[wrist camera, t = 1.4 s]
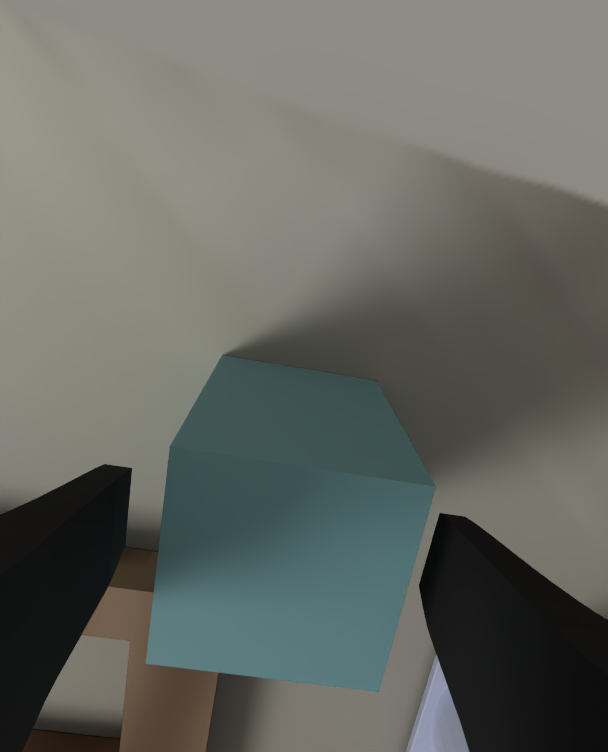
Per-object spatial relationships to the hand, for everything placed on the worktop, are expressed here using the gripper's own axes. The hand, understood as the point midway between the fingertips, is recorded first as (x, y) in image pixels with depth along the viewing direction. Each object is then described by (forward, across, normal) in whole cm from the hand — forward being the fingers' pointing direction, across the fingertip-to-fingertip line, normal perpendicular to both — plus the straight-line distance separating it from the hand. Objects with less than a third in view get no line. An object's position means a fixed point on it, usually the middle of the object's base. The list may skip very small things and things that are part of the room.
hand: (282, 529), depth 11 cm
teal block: (+5, 0, 0) cm, 5 cm away
